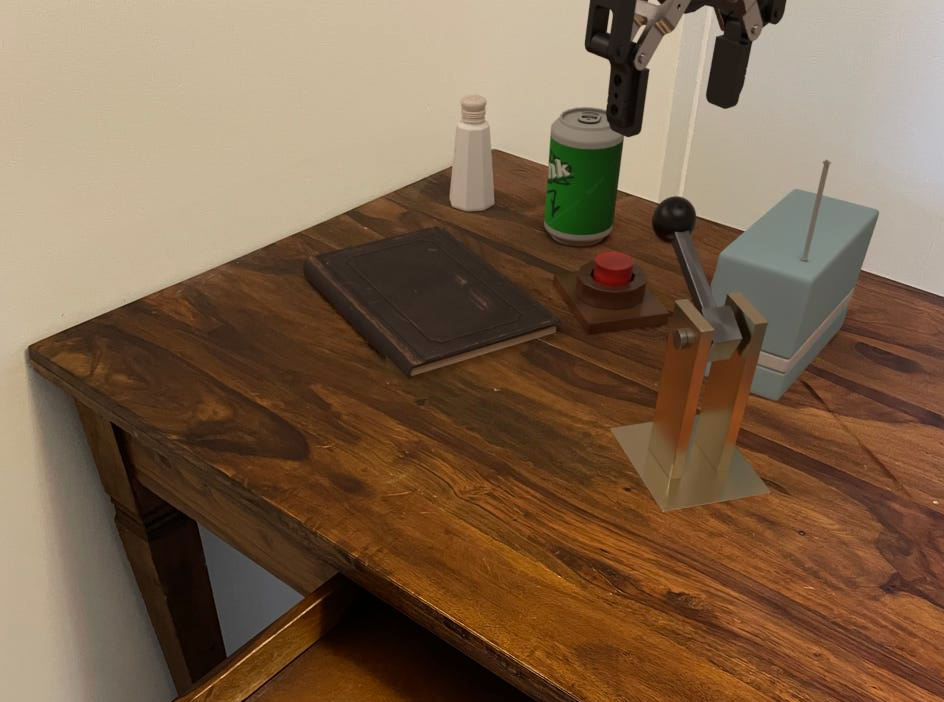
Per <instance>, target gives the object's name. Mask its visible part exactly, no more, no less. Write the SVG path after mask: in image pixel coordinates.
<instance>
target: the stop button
mask: <svg viewBox="0 0 944 702" xmlns="http://www.w3.org/2000/svg"><path fill="white" fill-rule="evenodd" d="M594 260H595V265H594V274H593V278H594V280H595V281H597V282H599V283H601V284H603V285H611V286H620V285H626V284H628V283H630V281H631V277H632V270H633V264H634V259H633V257H631V256H629V255H628V254H626V253H623V252H620V251H619V252H618V251H606V252H602V253H599V254H598V255H596V256H595V258H594Z"/></svg>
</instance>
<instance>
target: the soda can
mask: <svg viewBox="0 0 944 702" xmlns="http://www.w3.org/2000/svg"><path fill="white" fill-rule="evenodd" d="M549 137H550V138H549V152H548V164H547V181H546V192H545V205H544V206H545V208H544V220H543V221H544V222H543V227H544V229H545V230H546V232H547V233H548V234H549V235H550V236H551V238H552V239H553V240H555V242H558V243H560V244H563V245H565V246H571V247H590V246H594V245H597V244H599V243H600V242H602V241H603V240H604V238H606V237H608V236H609V235H610V233H611V232H612V231H613V229H614V220H615V213H616V205H617V197H618V189H619V181H620V179H619V178H620V173H621V165H622V157H623V149H624V143H625V142H624V141H625V136H623V135H621V134H619V133H617V132H615V131H613V130H611V128H610V126H609V122H607V117H606V109H604V108H600V107H593V106H592V107H589V106H581V107H573V108H570V109H569V108H568V109H566V110H564V111H562V112H561V113H560V114H559V117H558V118H556V119H555V120H554V121H553V122H552V124H551V125H550V136H549Z"/></svg>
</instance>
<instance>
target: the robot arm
mask: <svg viewBox="0 0 944 702" xmlns="http://www.w3.org/2000/svg"><path fill="white" fill-rule="evenodd" d="M656 1H657V2H658V4H654V3H653V2H652V3H651V2H649V0H589V5H588V11H587V12H588V13H587V21H586V28H585V36H584V49H585V50H586V51H587V52H588V53H590V54H591V55H592V54H593V55H595V56H598V57H600V58H602V59H605V60H608V62H609V65H610V69H609V70H610V72H609V80H608V91H607V99H606V102H607V103H606V109H605V110H606V117H607V122H609V126H610V128H611V130H613V131H615V132H617V133H619V134H621V135H623V136H624V137H626V138H631V137H635V136H638V135H640V133H641V132H642V128H643V121H644V115H645V114H644V113H645V106H646V98H647V90H648V85H649V77H650V68H648V67H647V66H648V65H649V63H650V62H651V60H652V58H653V56H654V54H655V52H656V51H657V49H658V47H659V45H660V43H661V41H662V40H663V38H664V37H665V35H668V34H671V33H672V32H674V31H675V29H676V28H677V27H678V25H679V22H680V21H681V19H682V17H683V15H688V14H691V13H695V12H697V11H698V10H700V9H701V8H703V7H705V6H707V7H709V8H710V7H711V8H712V9H713V10H714V13H715V17H716V20H717V22H718V23H717V24H718V26H719V29H720V31H721V32H723V34H721V35H720V34H719V35H717V36H715V39H714V40H715V41H714V46H713V52H712V58H711V63H710V69H709V73H708V80H707V86H706V91H705V99H706V101H707V102H708V103H709V104H711V105H713V106H716V107H718V108H720V109H723V110H727V109H730V108H731V109H732V108H734V107H736V106H737V105H738V103H739V100H740V95H741V93H742V91H743V89H744V85H745V81H746V75H747V69H748V67H749V66H748V65H749V61H750V55H751V51H752V47H753V42H755V41H757V40H758V38H759V37H760V35H761V33H762V31H763V29H764V27H766V26H767V25H768V24H771V25H775V26H776V25H777V24H779V23H780V22H781V20H782V19H783V17H784V14H785V11H786V7H787V1H788V0H656ZM610 12H611V13H612V18H611V19H612V20H611V23H610V24H611V26H610V32H608V27H609V19H610ZM643 26H644V28H643V30H642V32H641V34H640V35H639V38H638V39H637V41H636V42H635V41H634V40H635V37H636V36H637V34H638V32H639V30H640V28H642V27H643Z"/></svg>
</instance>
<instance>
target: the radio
mask: <svg viewBox="0 0 944 702" xmlns="http://www.w3.org/2000/svg"><path fill="white" fill-rule="evenodd" d="M822 164H823V165H822V170H821V175H820V178H819V179H820V180H819V183H818V187H817V191H816V192H811V191H808V190H804V189H799V188H795V189H792V190H791V191H790V192H788V194H786V195H785V196H784V197H783V198H781V199H780V200H779V201H778V202H777V203H776V204H775V205H774V206H772V207H771V208H770V209H769V210H768V211H767V212H765V213H764V214H763V215H762V216H760V218H758V220H756V221H755V222H753V224H752V225H750V226H749V227H748V228H747V229H746V230H745V231H744V232H742V233H741V234H739V236H738V237H737V238H735V240H733V241H732V242H731V243H729V245H727V246H726V247H725V248H724V249H723V250H722V251H721V252H720V253H719V255H718V258H717V262H716V266H715V267H716V268H715V272H714V273H713V277H712V280H711V282H710V284H709V287H710V289H711V292H712V295H713V298H714V300H715V303H716V306H717V307H722V306H724V305H725V300H726V296H727V293H733V292H740V293H741V294H742V295H743V296H744V297H745V298H746V299H747V300H748V301H749V302H750V303H751V304H752V305H753V306H754V307H755V308H756V310H757V311H758V312H759V313H760V314H761V315H762V316H763V317H764V318H765V319H766V320H767V321H768V325H767V329H766V333H765V336H764V340H763V344H762V348H761V351H760V355H759V359H758V362H757V366H756V370H755V374H754V377H753V381H752V385H751V389H750V392H749V393H750V394H754V395H757V396H760V397H763V398H765V399H767V400H771V401H774V402H778V401H779V400H780V399H781V398H782V397H783V395H785V393H786V392H787V391H788V390H789V389H790V388H791V387H792V385H793V384H794V383H795V382H796V381H797V380H798V379H799V377H801V375H802V374H803V373H804V372H805V370H806V369H807V368H808V367H809V366H810V364H811V363H812V362H813V361H814V360H815V359H816V358H817V356H819V354H820V353H821V352H822V351H823V350H824V348H825V347H826V346H827V345H828V344H829V342H831V340H832V339H833V338H834V337H835V336H836V334H837V333H838V332H839V331H840V329H841V328H842V327H843V325H844V322H845V320H846V316H847V314H848V311H849V307H850V304H851V300H852V298H853V295H854V292H855V289H856V288H855V287H856V285H857V283H858V280H859V277H860V274H861V271H862V267H863V265H864V262H865V258H866V255H867V252H868V250H869V247H870V243H871V241H872V238H873V234H874V231H875V229H876V225H877V222H878V219H879V216H880V211H879V209H876V208H873V207H869V206H866V205H863V204H858V203H854V202H850V201H846V200H842V199H838V198H834V197H830V196H827V195H823V194H824V189H825V186H826V181H827V177H828V172H829V169H830V165H832V162H831V161H830V160H829V159H825V160H823V161H822ZM711 362H712V361H711ZM711 362H707V365H706V370H705V374H704V377H706V378H708V375H709V371H710V366H711Z"/></svg>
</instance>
